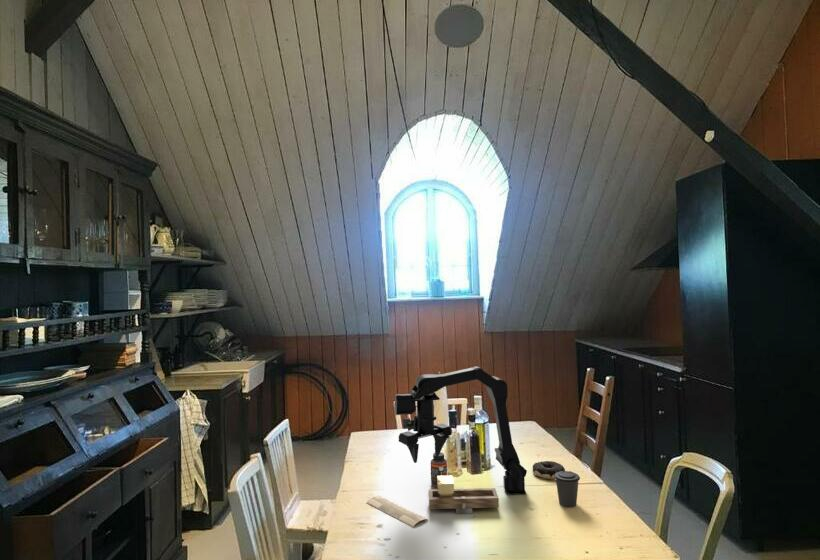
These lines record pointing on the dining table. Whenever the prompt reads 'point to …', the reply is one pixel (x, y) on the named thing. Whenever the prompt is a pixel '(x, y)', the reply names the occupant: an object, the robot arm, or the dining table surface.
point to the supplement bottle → (438, 468)
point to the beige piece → (396, 510)
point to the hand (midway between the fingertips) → (426, 459)
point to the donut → (547, 469)
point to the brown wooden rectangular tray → (465, 499)
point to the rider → (445, 486)
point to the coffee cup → (567, 488)
